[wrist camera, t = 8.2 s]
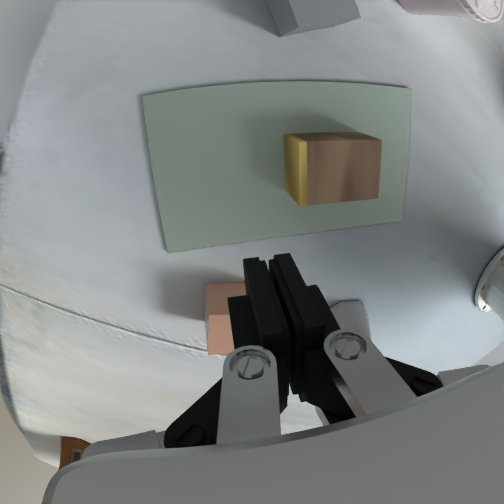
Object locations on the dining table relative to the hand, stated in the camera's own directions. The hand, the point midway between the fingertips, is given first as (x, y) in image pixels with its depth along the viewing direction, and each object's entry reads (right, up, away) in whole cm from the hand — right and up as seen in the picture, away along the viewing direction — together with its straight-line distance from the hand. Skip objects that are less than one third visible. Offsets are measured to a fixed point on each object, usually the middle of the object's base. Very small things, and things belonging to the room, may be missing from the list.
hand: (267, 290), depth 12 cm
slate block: (+3, +22, +8) cm, 23 cm away
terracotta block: (-3, -4, +21) cm, 22 cm away
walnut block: (+3, +8, +13) cm, 15 cm away
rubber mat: (+3, +9, +15) cm, 18 cm away
